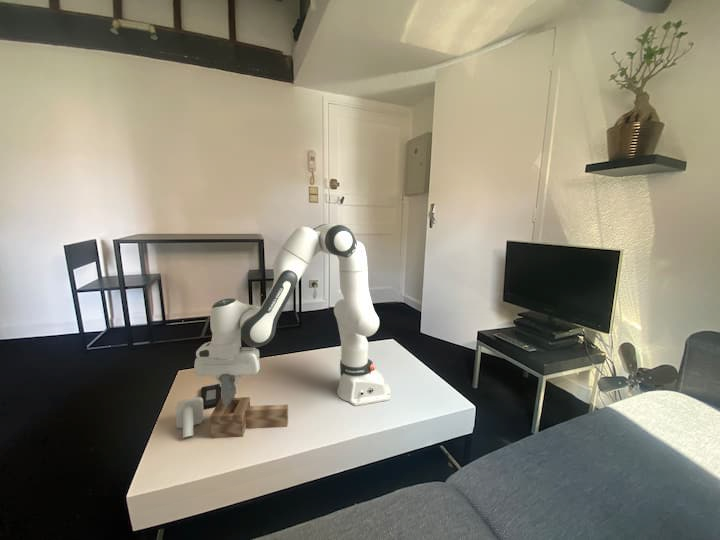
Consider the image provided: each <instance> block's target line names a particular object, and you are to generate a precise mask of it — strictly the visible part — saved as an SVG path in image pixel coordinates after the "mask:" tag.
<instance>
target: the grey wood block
mask: <svg viewBox="0 0 720 540" xmlns="http://www.w3.org/2000/svg"><path fill="white" fill-rule="evenodd" d="M233 380H236V378H235V375H230V374H222V375H221V385H222V387H221V397H222V402H223V404H231V402H232V400H233V398H235V397H236V394H237V387H232V381H233Z"/></svg>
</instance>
